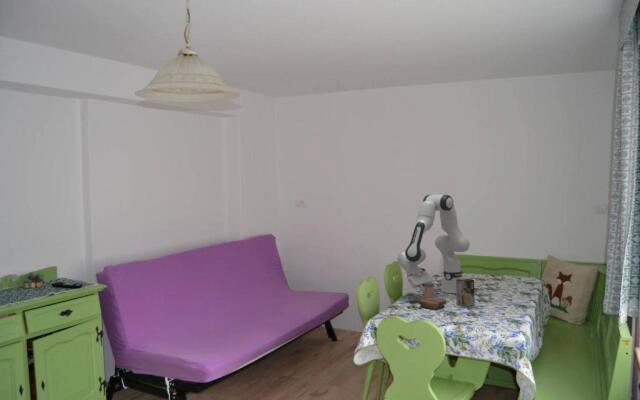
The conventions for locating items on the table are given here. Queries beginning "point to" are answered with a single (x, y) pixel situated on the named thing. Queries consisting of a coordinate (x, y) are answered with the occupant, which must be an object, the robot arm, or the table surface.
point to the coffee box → (465, 292)
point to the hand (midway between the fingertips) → (427, 290)
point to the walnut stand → (432, 303)
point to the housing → (428, 290)
